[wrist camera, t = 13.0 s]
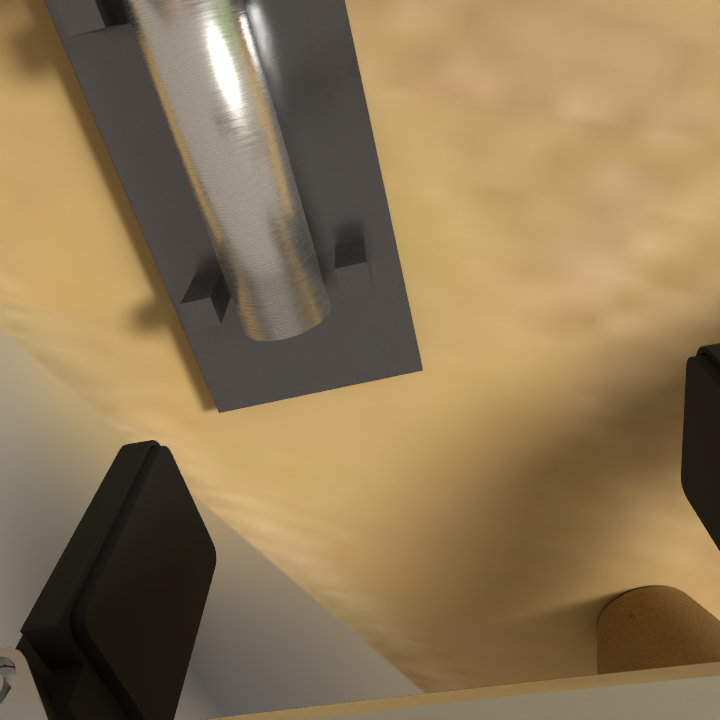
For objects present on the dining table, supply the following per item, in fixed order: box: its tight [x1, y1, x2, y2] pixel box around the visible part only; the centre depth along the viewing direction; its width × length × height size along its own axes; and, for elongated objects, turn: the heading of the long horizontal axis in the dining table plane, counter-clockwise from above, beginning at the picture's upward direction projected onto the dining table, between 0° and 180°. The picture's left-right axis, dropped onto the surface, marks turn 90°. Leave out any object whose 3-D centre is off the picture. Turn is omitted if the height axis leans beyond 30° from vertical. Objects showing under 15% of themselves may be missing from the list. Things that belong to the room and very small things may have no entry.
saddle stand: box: [44, 0, 423, 413], centre depth 26 cm, size 12×28×10 cm, turn 13°
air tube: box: [122, 0, 331, 341], centre depth 26 cm, size 20×4×4 cm, turn 13°
